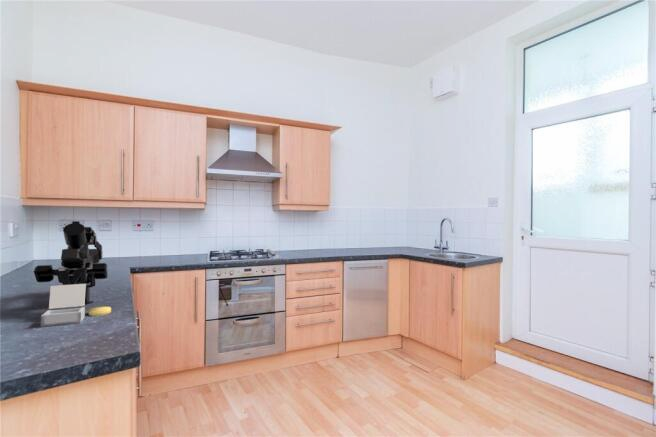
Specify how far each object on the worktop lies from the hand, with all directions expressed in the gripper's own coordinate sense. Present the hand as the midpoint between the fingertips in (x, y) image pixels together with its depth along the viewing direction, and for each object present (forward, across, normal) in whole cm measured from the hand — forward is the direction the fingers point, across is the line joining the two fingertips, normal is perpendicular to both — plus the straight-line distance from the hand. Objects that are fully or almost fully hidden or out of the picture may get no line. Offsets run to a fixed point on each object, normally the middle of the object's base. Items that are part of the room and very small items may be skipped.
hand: (68, 293), depth 102 cm
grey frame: (+9, 0, +1) cm, 9 cm away
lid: (+1, 0, -1) cm, 1 cm away
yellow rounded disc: (+5, +8, +6) cm, 11 cm away
